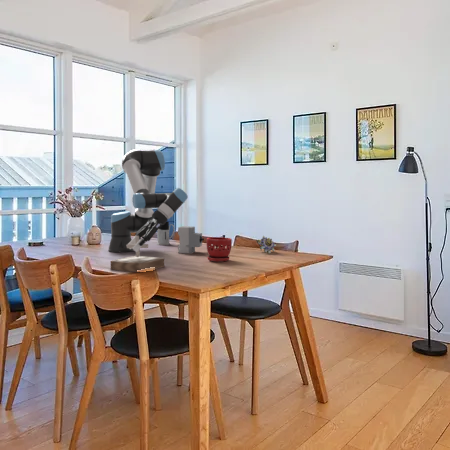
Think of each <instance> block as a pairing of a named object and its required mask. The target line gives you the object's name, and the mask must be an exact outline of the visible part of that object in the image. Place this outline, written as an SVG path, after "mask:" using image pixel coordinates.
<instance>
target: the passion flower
mask: <svg viewBox="0 0 450 450" xmlns="http://www.w3.org/2000/svg"><path fill="white" fill-rule="evenodd" d="M256 243H257V244H258V246H259V249H260V250H263V251H264V253H267V254H269V255H270V254H271V251H272V252H275V247H277V244H275V242H274V241H273V239H272V238H270V237H265V236H264V235H263V236H262V238H261V239H257V240H256Z"/></svg>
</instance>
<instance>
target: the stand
mask: <svg viewBox="0 0 450 450" xmlns="http://www.w3.org/2000/svg"><path fill="white" fill-rule="evenodd" d="M150 267H155V268H156V269H160V268H164V267H165V258H164V257H154V256H141V255H140V257H136V255H132V256H127V257H122V258H118V259H114V260H113V259H112V260H110V270H115V271H124V272H131V271H137V270H141V269H145V268H150ZM156 269H155V270H156Z"/></svg>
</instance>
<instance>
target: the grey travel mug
mask: <svg viewBox="0 0 450 450" xmlns="http://www.w3.org/2000/svg"><path fill="white" fill-rule="evenodd" d="M160 225H161V224H160ZM171 226H172V227H173V229H172V230H173V231H172V234H171V236H170V230H171ZM156 232H157V242H156V245H157V246H168V245H171V244H170V239H172V237H173V236H174V234H175V225H174V224H171V223H170V222H169V221H167V222H166V223H165V224H164V225H161V227H160V228H159V229H158V230H157V231H156Z"/></svg>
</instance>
